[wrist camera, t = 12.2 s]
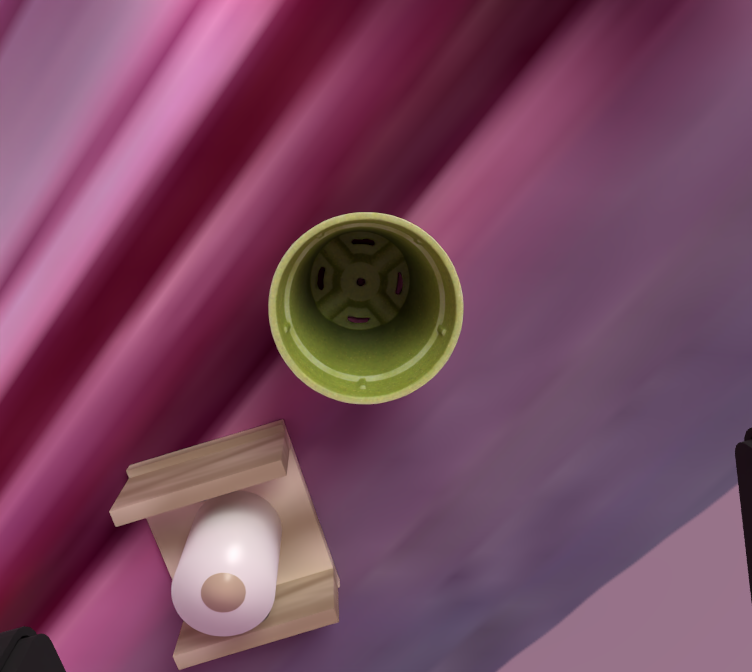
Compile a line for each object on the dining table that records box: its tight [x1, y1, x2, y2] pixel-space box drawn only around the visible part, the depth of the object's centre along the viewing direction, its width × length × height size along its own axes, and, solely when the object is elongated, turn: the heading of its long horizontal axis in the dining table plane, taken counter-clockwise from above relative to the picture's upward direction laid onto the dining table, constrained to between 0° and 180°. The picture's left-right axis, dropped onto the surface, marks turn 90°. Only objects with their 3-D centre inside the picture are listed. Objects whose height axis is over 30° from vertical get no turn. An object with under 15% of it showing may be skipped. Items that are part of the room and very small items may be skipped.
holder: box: [109, 419, 340, 670], centre depth 43 cm, size 12×10×5 cm
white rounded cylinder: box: [171, 490, 282, 636], centre depth 42 cm, size 6×6×7 cm
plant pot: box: [269, 212, 463, 404], centre depth 38 cm, size 9×9×9 cm
